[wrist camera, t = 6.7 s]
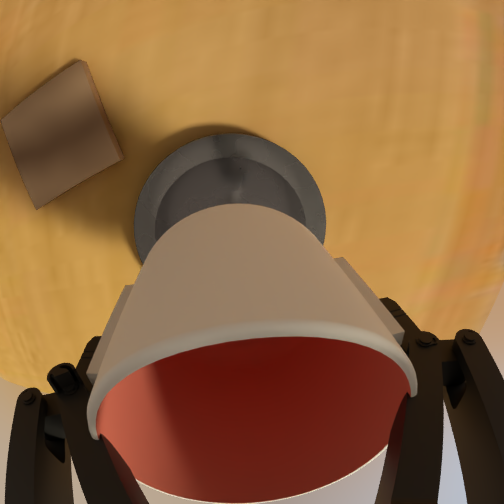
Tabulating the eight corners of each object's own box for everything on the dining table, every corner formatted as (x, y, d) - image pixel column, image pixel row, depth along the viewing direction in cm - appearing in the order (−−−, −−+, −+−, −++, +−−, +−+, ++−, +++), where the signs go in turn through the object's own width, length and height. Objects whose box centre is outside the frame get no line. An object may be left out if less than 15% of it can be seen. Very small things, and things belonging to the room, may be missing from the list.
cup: (294, 362, 19) (336, 497, 10) (140, 343, 18) (108, 490, 8) (349, 219, 16) (475, 332, 7) (155, 180, 14) (59, 282, 5)
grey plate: (123, 149, 21) (116, 152, 20) (316, 126, 22) (323, 126, 21) (160, 314, 27) (157, 325, 26) (319, 293, 28) (325, 303, 27)
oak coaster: (8, 119, 18) (0, 120, 17) (86, 62, 18) (80, 59, 17) (42, 206, 22) (36, 210, 21) (124, 158, 22) (120, 160, 20)
